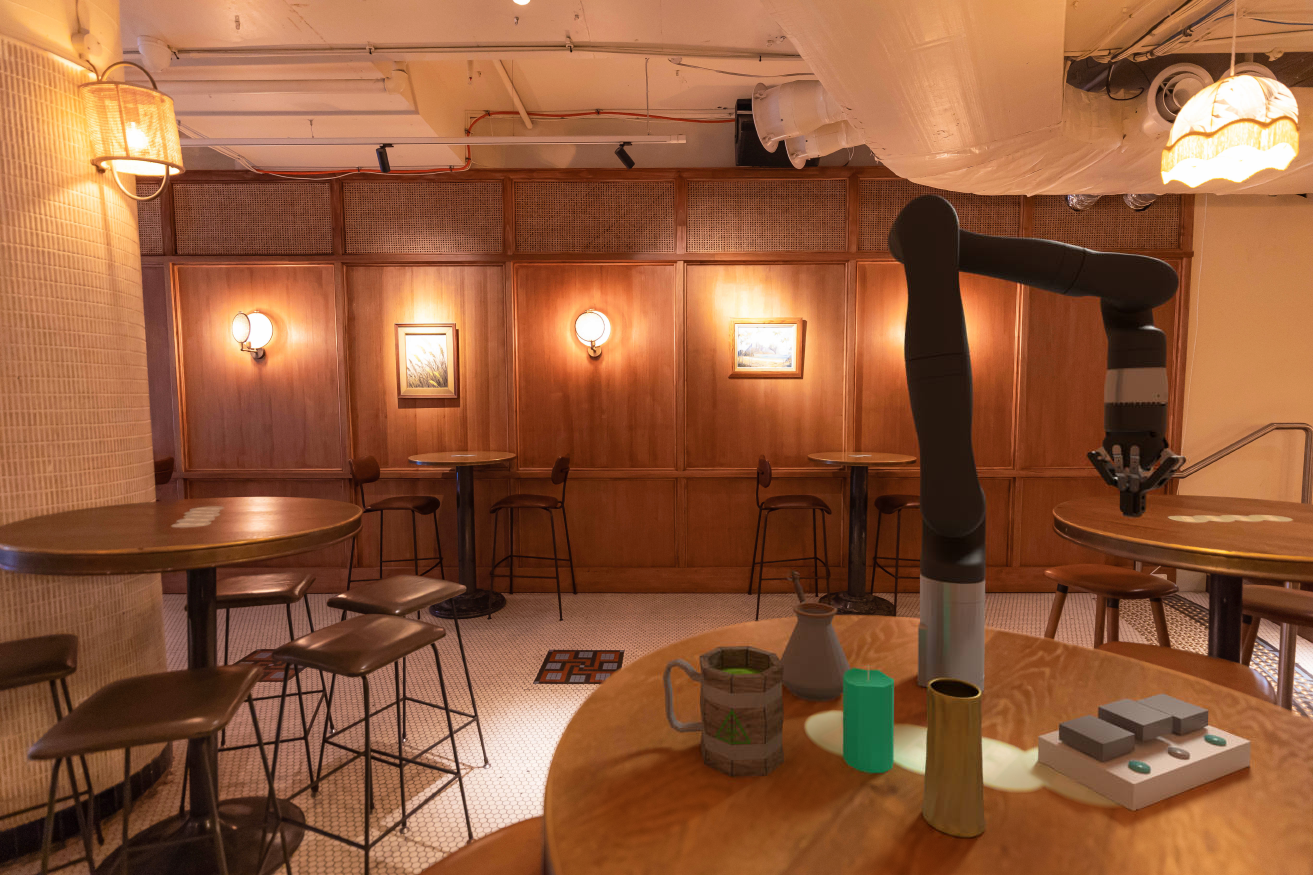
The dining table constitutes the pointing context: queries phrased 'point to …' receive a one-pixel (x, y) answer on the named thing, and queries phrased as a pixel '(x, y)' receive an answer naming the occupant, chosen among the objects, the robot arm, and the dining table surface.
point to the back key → (1178, 712)
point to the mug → (736, 709)
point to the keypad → (1151, 764)
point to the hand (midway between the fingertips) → (1132, 516)
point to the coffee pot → (813, 652)
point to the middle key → (1136, 719)
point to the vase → (954, 758)
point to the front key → (1096, 737)
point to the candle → (868, 720)
